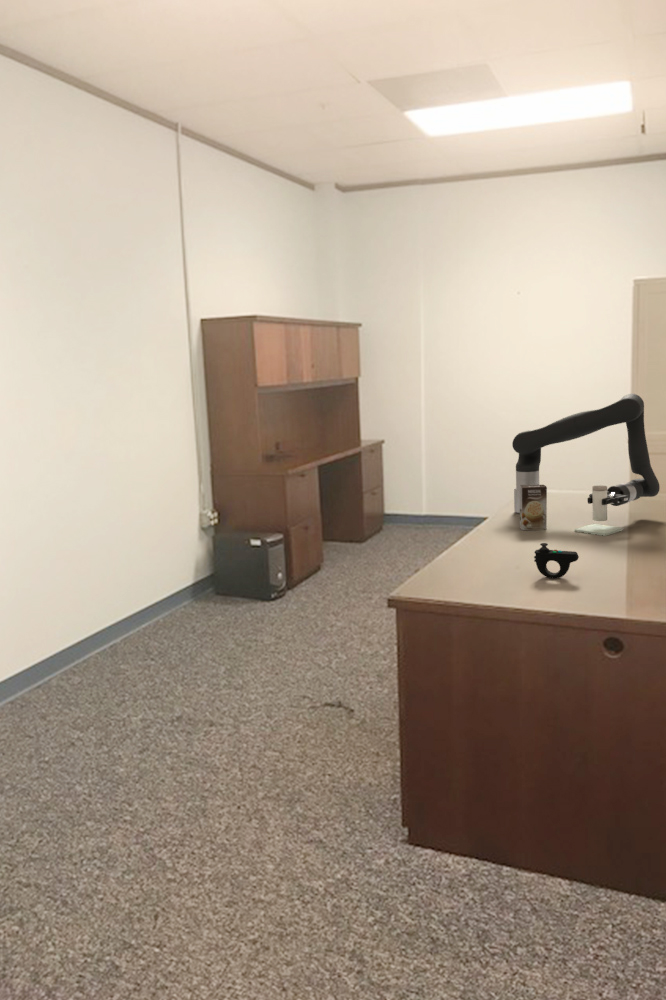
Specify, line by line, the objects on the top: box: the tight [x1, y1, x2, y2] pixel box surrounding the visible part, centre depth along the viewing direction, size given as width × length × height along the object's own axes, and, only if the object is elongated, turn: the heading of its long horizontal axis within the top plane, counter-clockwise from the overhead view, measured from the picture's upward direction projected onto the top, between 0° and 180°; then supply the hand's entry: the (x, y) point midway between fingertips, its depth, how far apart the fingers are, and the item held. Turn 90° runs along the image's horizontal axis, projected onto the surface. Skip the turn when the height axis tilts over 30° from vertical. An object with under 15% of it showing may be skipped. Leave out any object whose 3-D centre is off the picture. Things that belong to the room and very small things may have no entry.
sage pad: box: [574, 523, 624, 537], centre depth 285 cm, size 12×12×1 cm
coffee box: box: [519, 484, 548, 531], centre depth 294 cm, size 9×6×16 cm
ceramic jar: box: [591, 485, 608, 522], centre depth 284 cm, size 5×5×12 cm
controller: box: [533, 542, 580, 580], centre depth 228 cm, size 4×12×10 cm, turn 65°
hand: (595, 501), depth 282 cm, fingers closed on ceramic jar, 5 cm apart
